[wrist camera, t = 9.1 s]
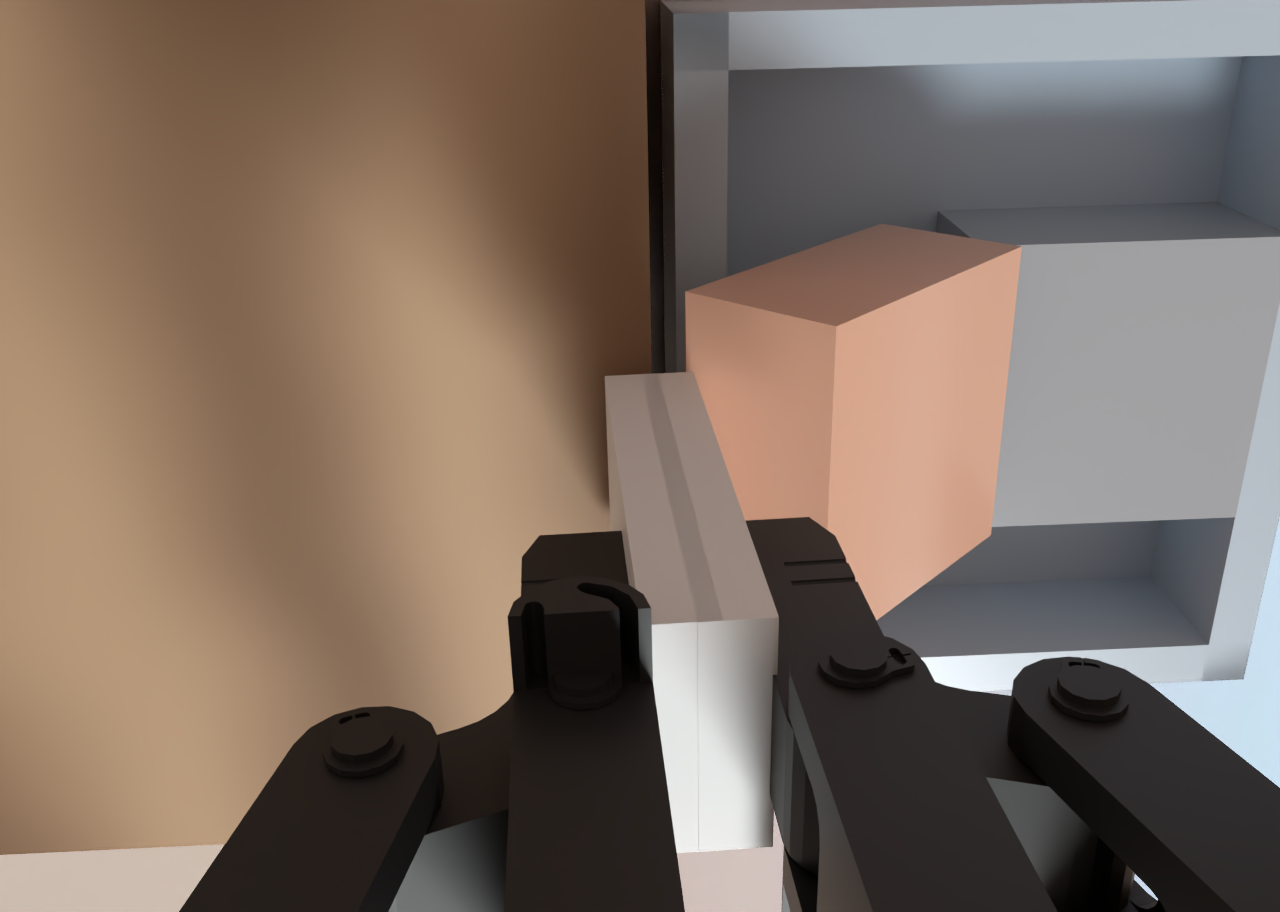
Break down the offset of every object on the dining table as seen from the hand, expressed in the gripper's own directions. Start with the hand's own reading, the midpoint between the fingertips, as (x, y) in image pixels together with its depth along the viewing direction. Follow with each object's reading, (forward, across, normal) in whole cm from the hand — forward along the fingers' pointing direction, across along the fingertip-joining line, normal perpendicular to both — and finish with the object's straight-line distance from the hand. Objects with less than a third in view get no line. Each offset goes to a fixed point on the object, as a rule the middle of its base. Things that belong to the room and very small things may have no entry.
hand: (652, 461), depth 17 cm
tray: (+5, +6, 0) cm, 8 cm away
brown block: (+6, -6, 0) cm, 8 cm away
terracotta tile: (+2, +2, 0) cm, 3 cm away
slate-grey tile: (+2, +8, 0) cm, 8 cm away
